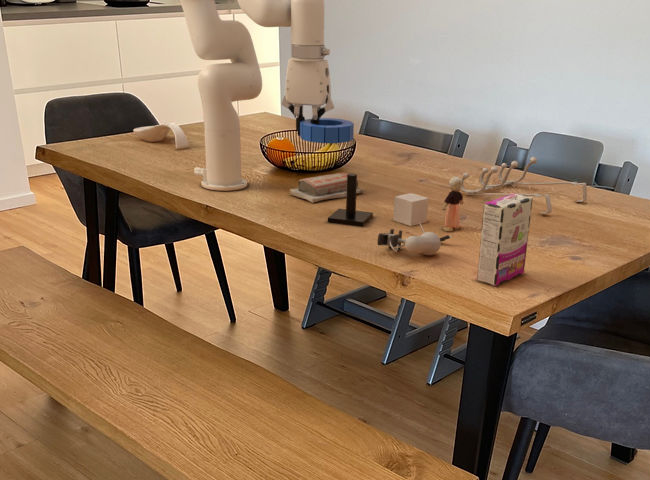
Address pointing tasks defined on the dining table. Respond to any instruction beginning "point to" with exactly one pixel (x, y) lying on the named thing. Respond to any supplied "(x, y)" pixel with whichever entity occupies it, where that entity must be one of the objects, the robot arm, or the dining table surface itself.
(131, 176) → the dining table surface
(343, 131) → the tape
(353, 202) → the peg stand
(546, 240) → the dining table surface
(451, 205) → the grandmother figurine
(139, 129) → the spoon rest
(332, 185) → the packaged product
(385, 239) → the clip-on lamp
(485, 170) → the over door rack
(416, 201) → the white cube
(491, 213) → the candy bar box
